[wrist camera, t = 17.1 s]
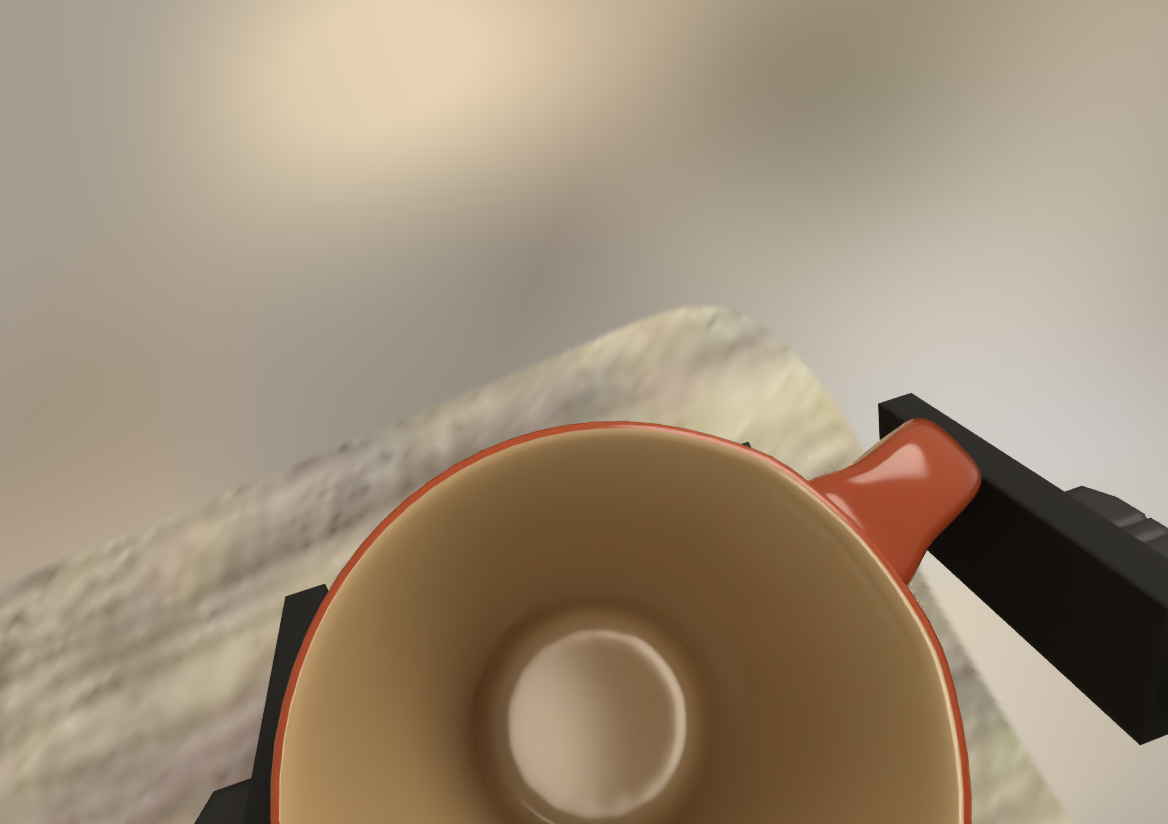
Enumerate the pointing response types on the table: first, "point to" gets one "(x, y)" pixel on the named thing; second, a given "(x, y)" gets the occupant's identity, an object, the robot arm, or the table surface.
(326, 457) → the table surface
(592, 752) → the mug
